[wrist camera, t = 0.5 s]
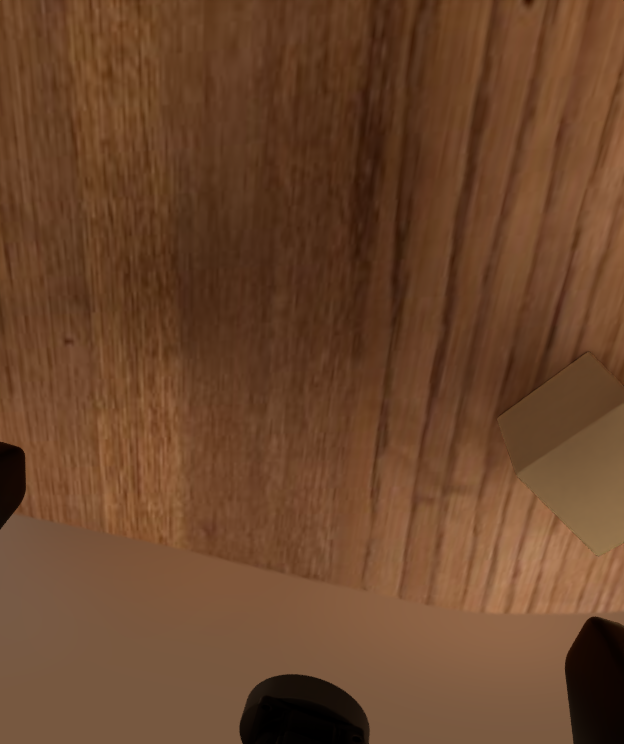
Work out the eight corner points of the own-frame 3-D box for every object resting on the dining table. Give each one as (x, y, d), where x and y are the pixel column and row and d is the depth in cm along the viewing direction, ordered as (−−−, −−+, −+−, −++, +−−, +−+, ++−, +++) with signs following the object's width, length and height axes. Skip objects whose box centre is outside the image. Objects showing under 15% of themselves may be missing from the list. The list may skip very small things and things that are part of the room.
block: (659, 426, 18) (721, 490, 15) (563, 487, 20) (598, 558, 16) (588, 350, 18) (634, 396, 14) (495, 418, 19) (515, 475, 16)
